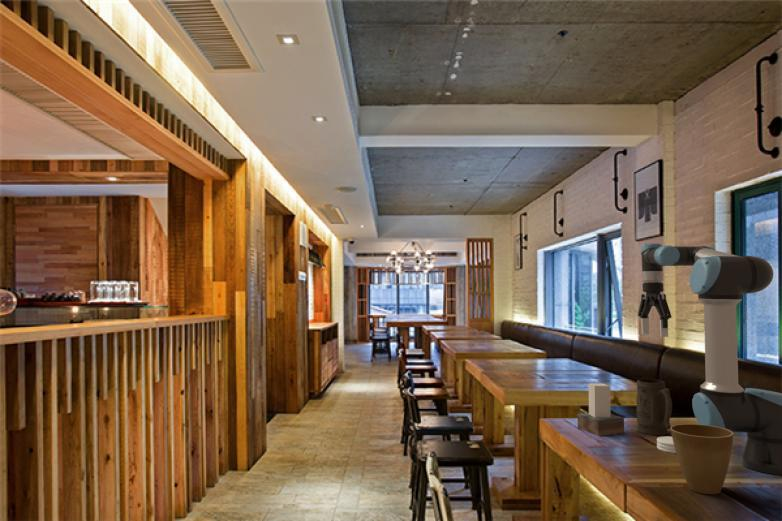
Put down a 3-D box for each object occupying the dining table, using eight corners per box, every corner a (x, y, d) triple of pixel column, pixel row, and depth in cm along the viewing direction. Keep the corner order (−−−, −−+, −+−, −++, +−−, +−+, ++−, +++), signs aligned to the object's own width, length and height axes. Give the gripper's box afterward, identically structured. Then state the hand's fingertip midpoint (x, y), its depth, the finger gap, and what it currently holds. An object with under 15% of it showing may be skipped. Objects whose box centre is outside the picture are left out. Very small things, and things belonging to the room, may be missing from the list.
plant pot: (712, 479, 153) (710, 422, 154) (749, 499, 138) (746, 436, 139) (661, 480, 152) (659, 423, 153) (692, 500, 138) (690, 437, 139)
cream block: (610, 417, 205) (610, 386, 206) (595, 417, 205) (594, 385, 206) (603, 414, 211) (603, 383, 212) (588, 414, 211) (588, 383, 212)
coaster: (656, 451, 181) (655, 441, 181) (657, 444, 189) (657, 434, 190) (690, 456, 176) (689, 445, 176) (689, 448, 185) (689, 438, 185)
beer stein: (629, 429, 209) (630, 378, 209) (648, 426, 214) (649, 376, 214) (663, 442, 195) (665, 387, 195) (683, 438, 200) (684, 385, 200)
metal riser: (624, 434, 204) (624, 418, 205) (598, 436, 201) (598, 420, 201) (602, 426, 216) (602, 411, 216) (577, 429, 212) (577, 413, 212)
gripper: (680, 281, 202) (682, 337, 201) (645, 282, 227) (647, 333, 226) (661, 281, 202) (663, 337, 200) (628, 282, 227) (629, 333, 225)
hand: (654, 335), depth 213 cm, fingers open, 13 cm apart
